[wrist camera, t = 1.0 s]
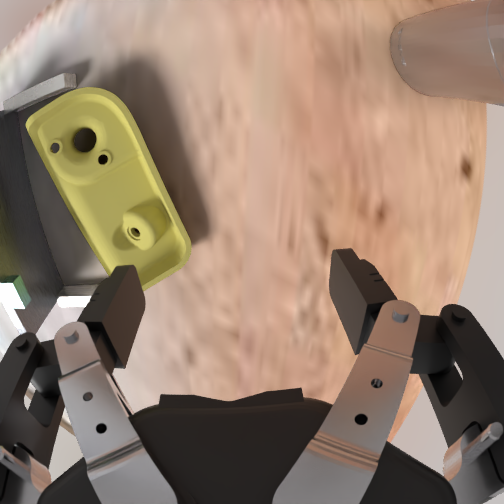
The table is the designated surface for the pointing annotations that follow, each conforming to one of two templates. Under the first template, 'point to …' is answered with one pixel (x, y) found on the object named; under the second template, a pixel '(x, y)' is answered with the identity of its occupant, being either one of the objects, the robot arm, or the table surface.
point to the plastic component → (111, 184)
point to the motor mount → (28, 225)
